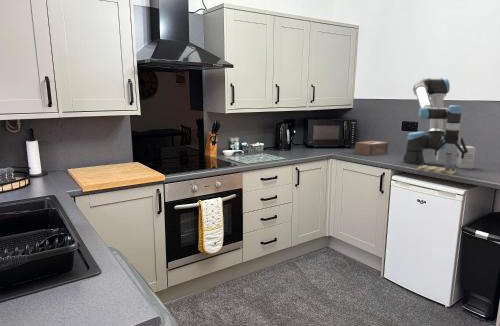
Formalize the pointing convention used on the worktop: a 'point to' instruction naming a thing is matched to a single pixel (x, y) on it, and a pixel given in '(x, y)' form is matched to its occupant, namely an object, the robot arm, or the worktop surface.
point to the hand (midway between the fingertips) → (448, 161)
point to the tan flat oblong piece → (436, 169)
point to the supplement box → (466, 158)
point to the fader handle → (448, 160)
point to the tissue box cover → (371, 148)
